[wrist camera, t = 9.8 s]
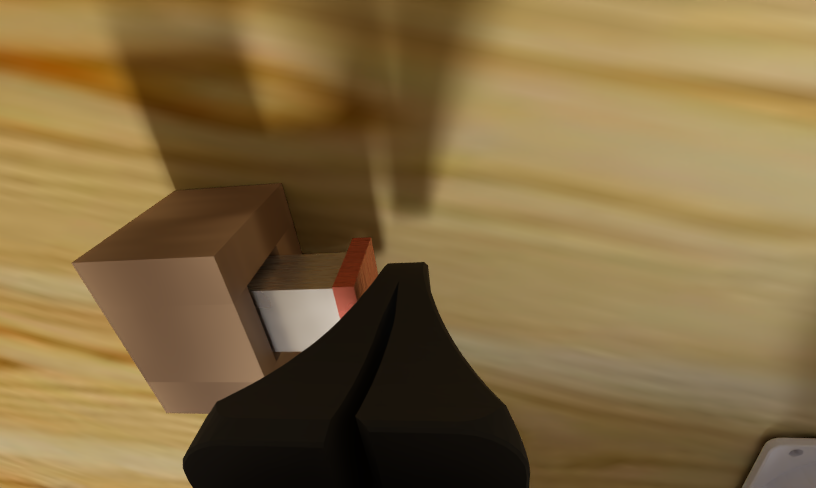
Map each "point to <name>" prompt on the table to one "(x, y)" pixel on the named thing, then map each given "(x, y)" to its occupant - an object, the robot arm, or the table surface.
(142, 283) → the cabinet
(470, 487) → the robot arm
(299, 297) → the drawer
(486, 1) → the table surface
